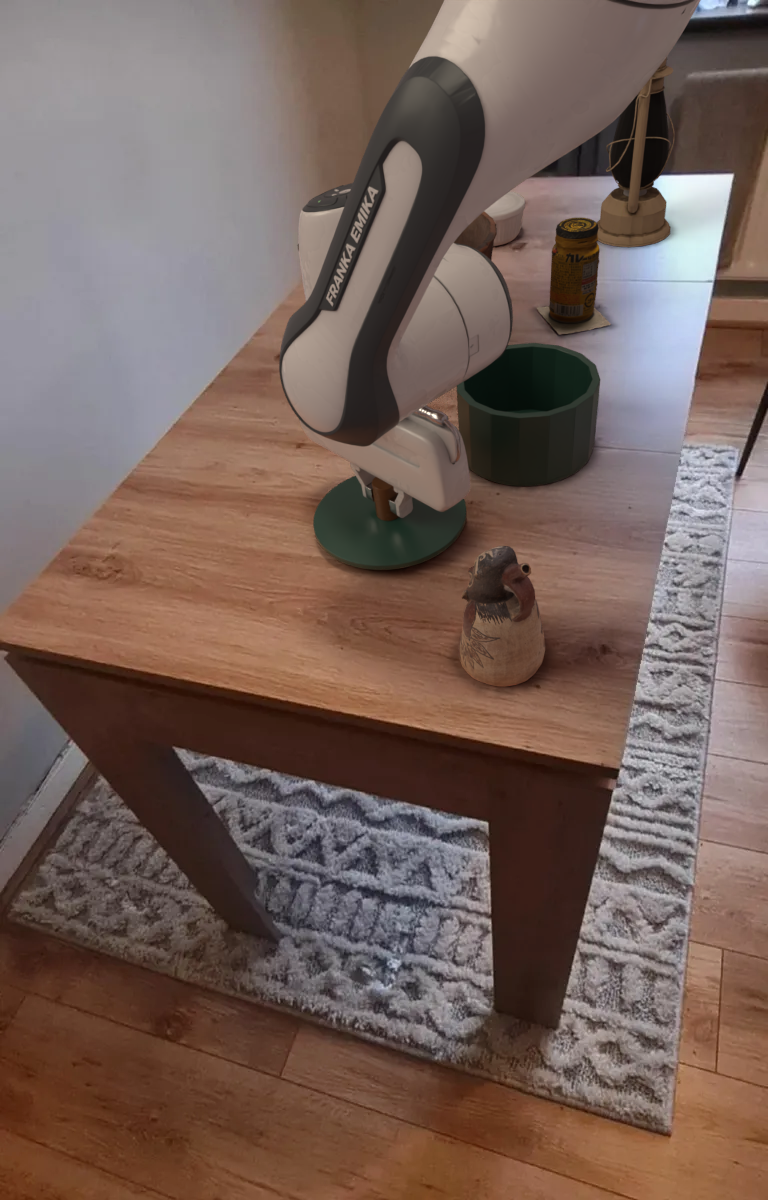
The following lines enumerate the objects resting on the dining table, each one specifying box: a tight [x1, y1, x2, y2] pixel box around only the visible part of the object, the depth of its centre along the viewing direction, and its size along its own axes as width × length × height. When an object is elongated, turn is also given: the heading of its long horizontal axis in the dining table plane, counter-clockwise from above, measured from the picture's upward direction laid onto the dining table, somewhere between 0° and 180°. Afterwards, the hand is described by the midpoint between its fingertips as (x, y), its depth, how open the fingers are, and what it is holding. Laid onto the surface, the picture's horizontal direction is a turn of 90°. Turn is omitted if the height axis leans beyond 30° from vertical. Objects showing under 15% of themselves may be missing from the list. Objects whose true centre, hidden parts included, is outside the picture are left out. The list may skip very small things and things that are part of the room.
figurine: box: [458, 545, 546, 688], centre depth 64 cm, size 7×7×12 cm
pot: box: [456, 342, 601, 487], centre depth 86 cm, size 15×15×8 cm
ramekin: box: [484, 190, 526, 247], centre depth 129 cm, size 11×11×5 cm
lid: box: [312, 474, 468, 571], centre depth 80 cm, size 16×16×5 cm
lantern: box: [596, 56, 675, 248], centre depth 115 cm, size 14×12×30 cm
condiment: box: [536, 217, 612, 335], centre depth 104 cm, size 7×8×12 cm
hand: (387, 504), depth 80 cm, fingers closed on lid, 2 cm apart
